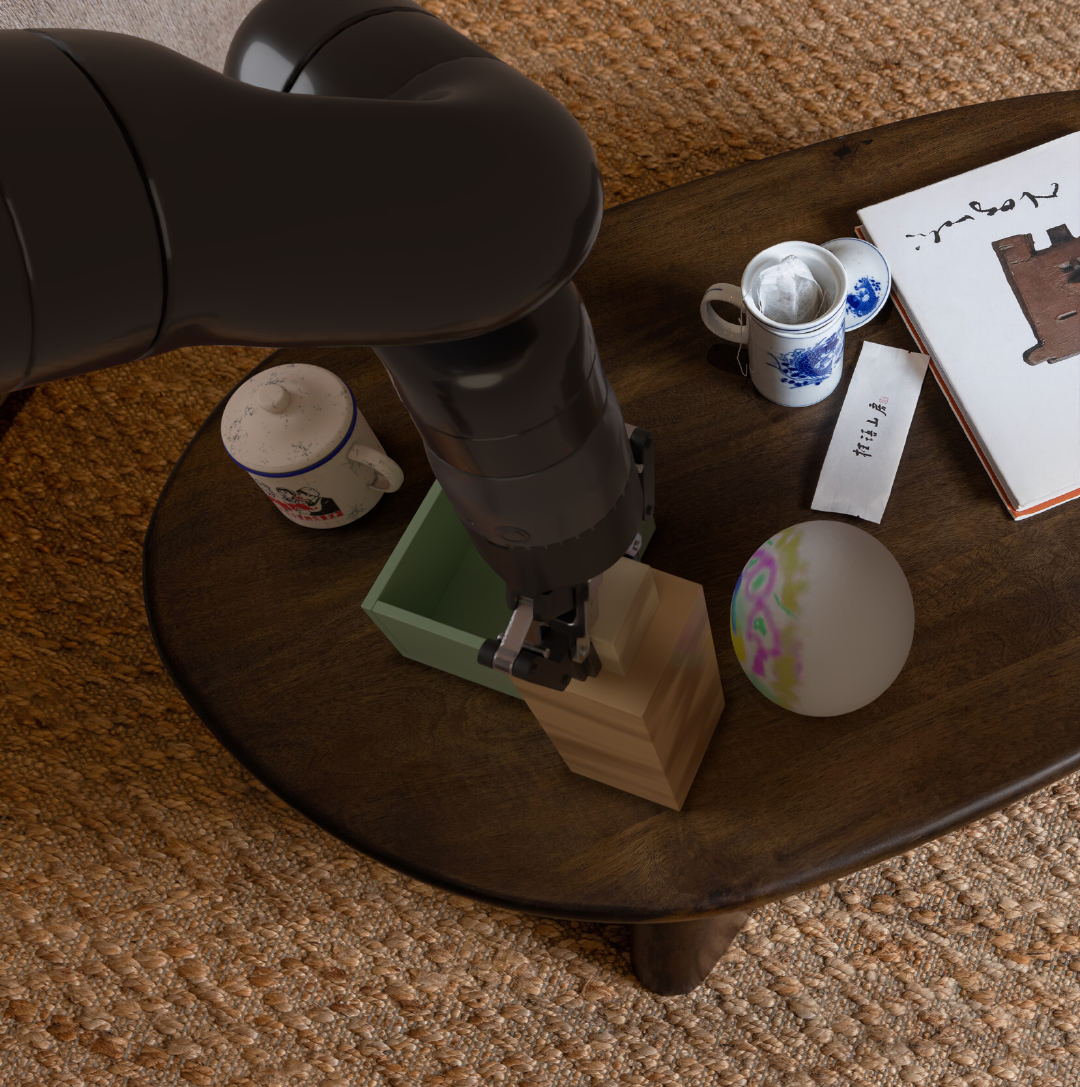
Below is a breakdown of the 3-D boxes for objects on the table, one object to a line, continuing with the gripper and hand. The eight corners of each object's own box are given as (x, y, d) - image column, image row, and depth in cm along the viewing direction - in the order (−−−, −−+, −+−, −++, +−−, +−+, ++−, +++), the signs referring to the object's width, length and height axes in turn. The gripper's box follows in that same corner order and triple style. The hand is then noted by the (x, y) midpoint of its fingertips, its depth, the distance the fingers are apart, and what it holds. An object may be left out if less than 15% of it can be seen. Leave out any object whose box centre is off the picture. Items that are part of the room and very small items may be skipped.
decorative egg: (738, 573, 86) (726, 470, 73) (905, 575, 87) (923, 473, 73) (731, 735, 81) (716, 656, 67) (909, 737, 81) (929, 658, 68)
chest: (565, 715, 81) (538, 671, 73) (402, 656, 83) (359, 606, 75) (656, 527, 88) (641, 468, 80) (504, 476, 90) (474, 412, 82)
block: (625, 677, 62) (612, 645, 57) (545, 648, 62) (527, 614, 58) (660, 602, 63) (650, 565, 59) (583, 575, 64) (567, 536, 60)
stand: (680, 812, 78) (642, 717, 61) (570, 771, 80) (501, 666, 62) (725, 704, 82) (702, 584, 64) (620, 666, 83) (568, 538, 65)
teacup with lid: (247, 511, 88) (172, 427, 77) (312, 414, 92) (249, 322, 81) (390, 562, 86) (333, 484, 76) (450, 462, 90) (403, 374, 80)
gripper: (532, 299, 51) (596, 492, 66) (363, 581, 45) (476, 721, 60) (692, 350, 50) (719, 533, 65) (542, 645, 44) (610, 771, 59)
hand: (602, 623), depth 62 cm, fingers closed on block, 4 cm apart
